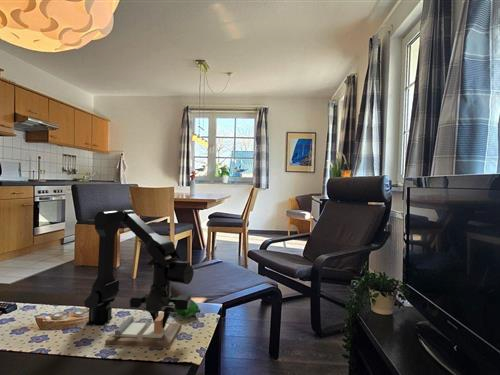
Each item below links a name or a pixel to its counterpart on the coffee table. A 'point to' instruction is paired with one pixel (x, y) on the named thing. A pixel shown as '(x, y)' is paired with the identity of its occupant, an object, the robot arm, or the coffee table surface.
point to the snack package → (188, 310)
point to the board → (146, 338)
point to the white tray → (130, 328)
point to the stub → (156, 328)
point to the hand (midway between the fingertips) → (160, 327)
